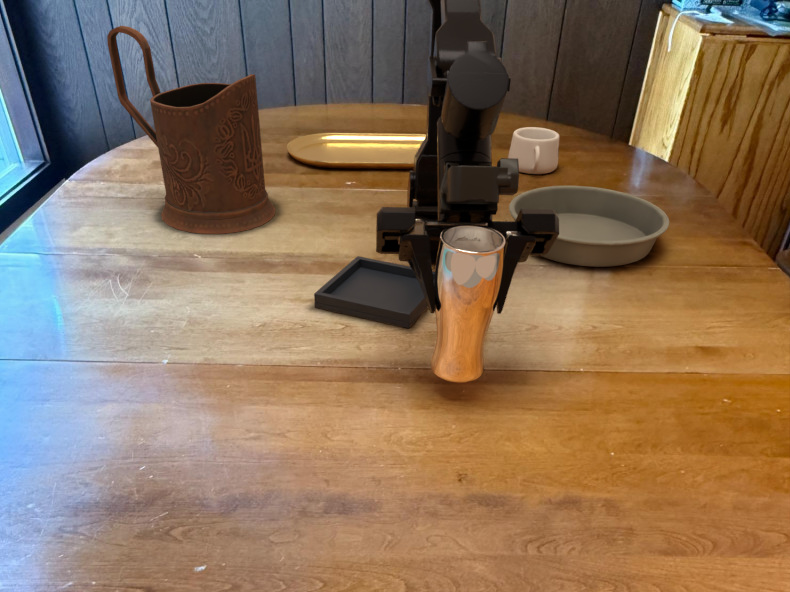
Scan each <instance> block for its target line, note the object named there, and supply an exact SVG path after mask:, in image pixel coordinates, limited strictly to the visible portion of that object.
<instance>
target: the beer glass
mask: <svg viewBox="0 0 790 592" xmlns="http://www.w3.org/2000/svg"><path fill="white" fill-rule="evenodd" d="M505 244H506V240H505V238H504V236H503V235H502V234H501V233H499V232H498V231H496V230H494V229H491V228H488V227H485V226H480V225H471V224H463V225H455V226H451V227H449V228H446V229H445V230H443V231H442V233H441V235H440V243H439V249H438V254H437V260H436V263H435V267H434V271H435V277H434V289H435V321H436V323H435V324H436V341H435V346H434V349H433V352H432V355H431V360H430V370H431V371H432V372H433V374H434V375H436V376H437V377H438V378H440V379H442V380H445V381H447V382H451V383H459V384H460V383H469V382H473V381H476V380H478V379H479V378H481V377H482V376H483V374H484V372H485V344H486V338H487V333H488V332H489V328H490V325H491V323H492V319H493V317H494V314H495V310H496V309H497V306H496V305H497V301H498V298H499V294H500V289H501V284H502V277H503V269H504V255H505Z"/></svg>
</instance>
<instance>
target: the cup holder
mask: <svg viewBox="0 0 790 592" xmlns="http://www.w3.org/2000/svg"><path fill="white" fill-rule="evenodd" d="M119 34H125V35H127V36H130V37H131V38H132V39H134V40H135V41H136V43H137V44H138V45H139V47H140V49H141V51H142V56H143V57H142V58H143V65H144V70H145V76H146V77H145V78H146V82H147V84H148V86H149V90H150V92H151V95H152V97H151V98H150V99H149V102H150V109H151V114H152V120H153V125H154V128H153V127H152V126H151V124H149V122H148V121H147V120H146V119H145V117H144V116H143V115H142V114H141V113H140V111H139V110H138V109H137V108H136V107H135V106H134V105H133V103H132V102H131V101H130V100H129V98H128V95H127V92H126V87H125V80H124V75H123V71H122V65H121V60H120V54H119V49H118V43H117V36H118V35H119ZM106 39H107V41H106V43H107V49H108V53H109V58H110V63H111V64H110V65H111V68H112V74H113V78H114V79H113V80H114V84H115V88H116V93H117V98H118V101H119V102H120V104H121V106H122V108H123V109H125V111H126V112H127V113H128V114H129V115H130V117H132V119H133V120H134V121H135V123H136V124H137V125H138V126H139V127H140V128H141V130H142V131H143V132H144V133H145V135H147V137H148V138H149V139H150V141H152V143H153V144H154V145H155V146H156V147H157V149H158V156H159V160H160V166H161V172H162V178H163V184H164V190H165V196H164V203H165V204H164V206H163V208H162V210H161V214H160V216H161V219H162V221H163V222H164V223H165V224H166V225H167V226H169V227H171V228H174V229H176V230H178V231H179V230H180V231H183V232H186V233H187V232H188V233H194V234H202V235H203V234H204V235H221V234H222V235H223V234H232V233H239V232H243V231H249V230H252V229H255V228H258V227H260V226H261V227H262V226H263V225H265V224H266V223H268V222H269V221H271V220H272V219H273V218H274V216H276V208H275V207H274V205H273V203H272V202H271V200H270V199H269V194H268V191H267V190H266V182H265V171H264V158H263V147H262V135H261V126H260V125H261V124H260V114H259V103H258V90H257V80H256V74H252V73H251V74H248V75H247V76H245V77H242V78H240V79H237V80H236V81H234V82H233V83H223V82H200V83H193V84H192V83H191V84H188V85H183V86H180V87H176V88H172V89H168V90H165V91H162V92H161V89H160V86H159V84H158V82H157V77H156V72H155V67H154V60H153V56H152V49H151V46H150V44H149V42H148V40H147V38H146V37H145V36H144V34H142V32H140V31H138V30H137V29H135V28H133V27H130V26H126V25H120V26H116V27H114V28H112V29H111V30H109V32H108V34H107V35H106Z"/></svg>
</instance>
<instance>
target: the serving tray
mask: <svg viewBox="0 0 790 592" xmlns="http://www.w3.org/2000/svg"><path fill="white" fill-rule="evenodd" d="M432 273H433V281H434V277H435V270H432ZM313 296H314V297H313V298H314V299H313V300H314V308H315V309H321V310H325V311H327V312H328V311H329V312H334V313H338V314H342V315H347V316H351V317H356V318H360V319H364V320H369V321H374V322H378V323H383V324H388V325H392V326H397V327H400V328H405V329H410V328H411V327H412V326H413V325H414V324H415V323H416V321H417V320H418V319H419V318H420V317H421V315H422V314H423V313H424V312H425V311H426V309H428V308H429V307H428V305H427V302H426V300H425V297H424V294H423V292H422V289H421V287H420V284H419V282H418V280H417V278H416V276H415V274H414V272H413V271H412V269H411V267H410V265H404V264H399V263H394V262H389V261H385V260H379V259H375V258H369V257H364V256H360V255H357V256H356V257H355V258H354V259H352V260H351V261H350V262H349V263H347V264H346V265H345V266H344V267H343V268H342V269H341V270H339V271H338V272H337V273H336V274H334V276H332V278H330V279H329V280H328V281H327V282H325V283H324V284H323V285H322V286H321V287H320V288H319V289H318V290H317V291H315V293H314V294H313Z"/></svg>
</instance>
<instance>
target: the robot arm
mask: <svg viewBox="0 0 790 592" xmlns="http://www.w3.org/2000/svg"><path fill="white" fill-rule="evenodd" d="M426 1H427V3H428V6H429V9H430V19H429V47H428V48H429V50H428V51H429V52H428V57H427V66H426V95H427V99H426V101H427V102H426V103H427V104H426V126H425V127H426V129H425V134H426V137H425V139H424V141H423V142H422V144H421V146H420V147H419V149H418V151H417V152H416V154H415V156H414V169H413V170H409V173H408V181H407V188H406V189H407V190H406V206H404V207H403V206H381V208H380V209H379V210H378V211H377V212H376V219H375V220H376V222H375V224H376V225H375V252H376V253H378V254H380V255H398V261H400V262H406V263H407V264H408V266H410V267H411V269H412V271H413V272H414V274H415V276H416V278H417V280H418V282H419V284H420V287H421V289H422V292H423V294H424V297H425V300H426V302H427V305H428V307H427V308H428V310H429V313H430V314H436V312H435V289H434V281H433V273H432V271H433V266H432V263H434V264H436V260H437V254H438V249H439V243H440V235H441V233H442V231H443V230H445V229H446V228H449V227H451V226H455V225H463V224H471V225H480V226H485V227H488V228H491V229H494V230H496V231H498V232H499V233H501V234H502V235H503V236H504V238H505V240H506V244H505V255H504V269H503V277H502V284H501V289H500V294H499V298H498V301H497V305H496V314H498V315H500V314H502V312H503V310H504V307H505V304H506V300H507V297H508V293H509V290H510V287H511V283H512V280H513V278H514V274H515V271H516V268H517V266H518V264H521V263H522V264H523V263H525V262H527V261H528V259H529V258H530V256H539V257H542V255H545V254H548V252H549V250H550V249H551V247H552V245H553V244H554V242H555V240H556V239H557V237H558V235H559V218H558V216H557V214H556V213H555V212H554V210H553V209H520V211H519V214H518V216H517V218H516V220H515V219H514V221H510V220H509V221H508V220H507V221H506V220H504V221H503V220H502V221H500V220H493V216H496V215H497V212H498V210H499V209H498V208H499V207H498V205H499V203H500V196H514V195H516V194H517V193H518V191H519V185H520V184H519V183H520V172H519V162H518V159H515V158H508V157H506V158H505V157H504V158H503V157H501V158H500V159H499V160H497V162H496V166H495V165H494V166H493V157H492V154H493V153H492V150H493V149H492V135H493V134H494V132H495V130H496V127H497V126H498V122H499V119H500V116H501V113H502V108H503V105H504V103H505V99H506V96H507V93H508V92H510V89H511V79H512V78H511V76H510V75H509V73H508V72H507V69H506V67H505V65H504V64H503V61H502V57H497V48H496V39H495V38H496V37H495V34H494V33H493V32H492V30H491V29H490V28H489V27H488V26H487V25H486V24H485V23H484V22H483V18H482V3H481V0H426Z"/></svg>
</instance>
